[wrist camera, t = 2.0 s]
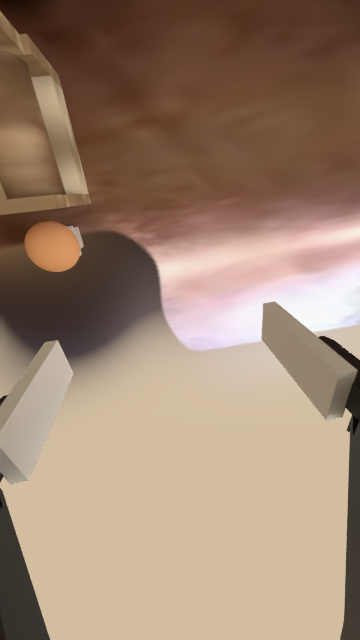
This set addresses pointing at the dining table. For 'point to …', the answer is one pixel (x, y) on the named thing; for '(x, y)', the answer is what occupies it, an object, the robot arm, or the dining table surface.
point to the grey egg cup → (77, 235)
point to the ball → (52, 246)
